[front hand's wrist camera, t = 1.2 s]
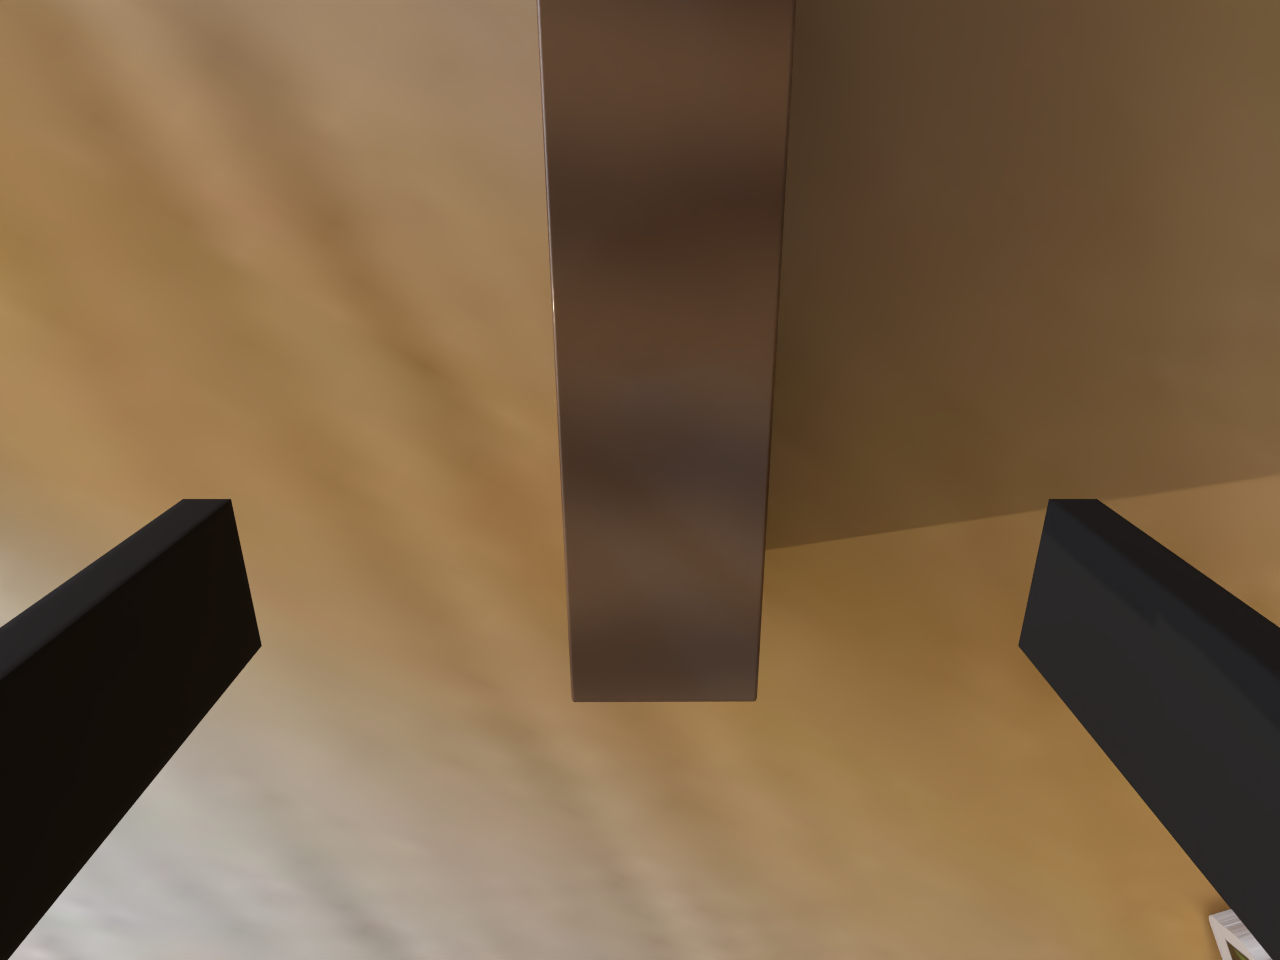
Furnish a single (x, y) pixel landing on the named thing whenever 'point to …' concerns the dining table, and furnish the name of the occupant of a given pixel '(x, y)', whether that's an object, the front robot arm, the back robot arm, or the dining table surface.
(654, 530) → the bar
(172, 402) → the dining table surface
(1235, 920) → the cutout
